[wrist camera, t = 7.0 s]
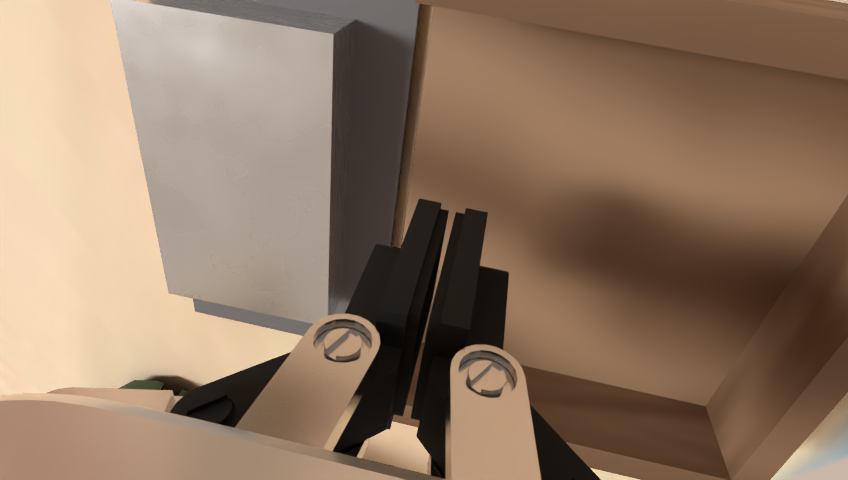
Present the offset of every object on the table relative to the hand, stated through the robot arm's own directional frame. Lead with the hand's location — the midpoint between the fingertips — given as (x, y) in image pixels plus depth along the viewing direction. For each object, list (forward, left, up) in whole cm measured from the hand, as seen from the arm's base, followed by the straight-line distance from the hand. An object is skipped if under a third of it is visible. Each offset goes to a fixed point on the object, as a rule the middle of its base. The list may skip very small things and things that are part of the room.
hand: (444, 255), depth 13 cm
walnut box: (+1, +5, -5) cm, 7 cm away
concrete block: (+1, -7, -5) cm, 8 cm away
